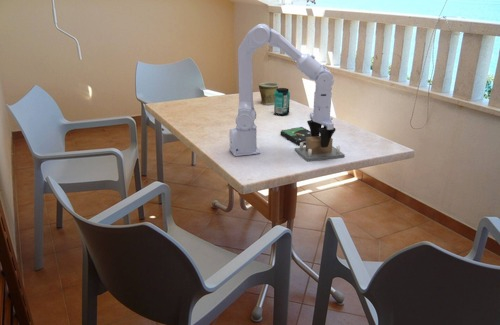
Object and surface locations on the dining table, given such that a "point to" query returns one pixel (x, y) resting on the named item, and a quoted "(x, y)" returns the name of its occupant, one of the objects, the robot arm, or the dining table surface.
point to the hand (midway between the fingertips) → (319, 143)
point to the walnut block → (317, 145)
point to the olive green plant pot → (268, 93)
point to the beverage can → (282, 102)
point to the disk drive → (296, 135)
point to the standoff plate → (315, 157)
